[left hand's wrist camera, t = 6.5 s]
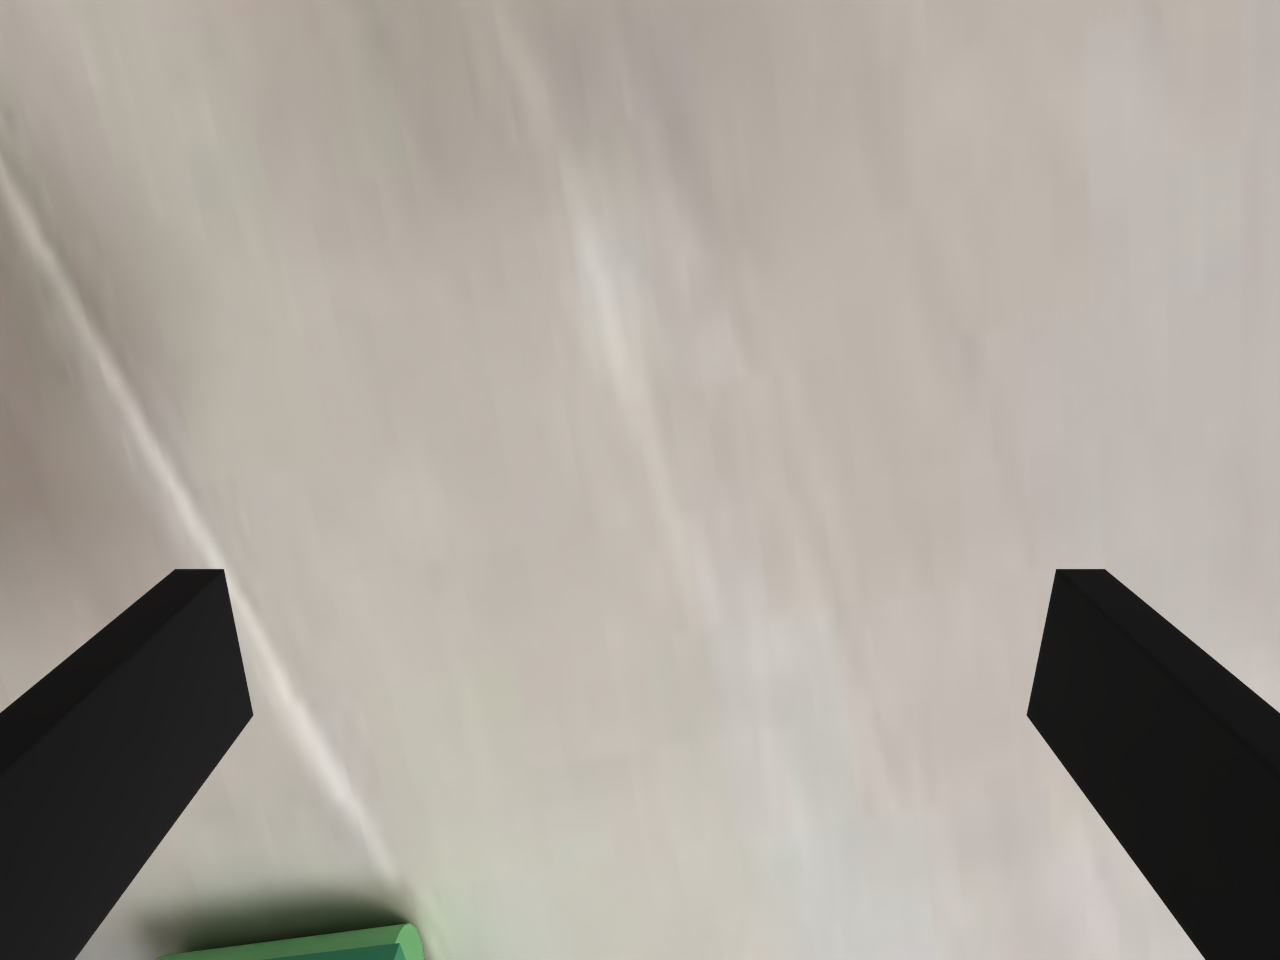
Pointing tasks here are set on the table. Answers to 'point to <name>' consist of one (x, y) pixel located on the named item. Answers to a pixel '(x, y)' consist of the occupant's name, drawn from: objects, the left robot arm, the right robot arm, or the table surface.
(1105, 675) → the left robot arm
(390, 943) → the toy tank
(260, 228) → the table surface
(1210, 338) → the table surface
